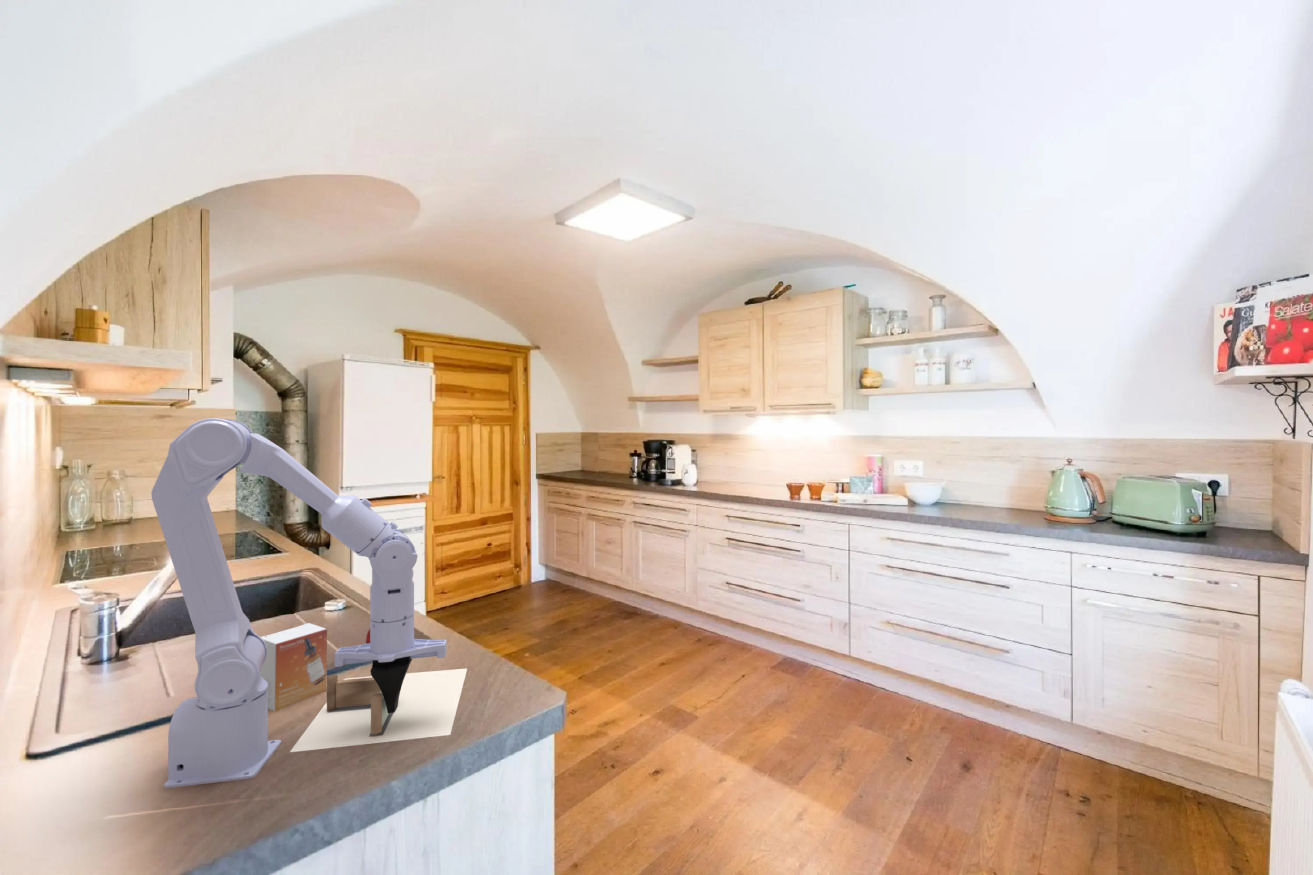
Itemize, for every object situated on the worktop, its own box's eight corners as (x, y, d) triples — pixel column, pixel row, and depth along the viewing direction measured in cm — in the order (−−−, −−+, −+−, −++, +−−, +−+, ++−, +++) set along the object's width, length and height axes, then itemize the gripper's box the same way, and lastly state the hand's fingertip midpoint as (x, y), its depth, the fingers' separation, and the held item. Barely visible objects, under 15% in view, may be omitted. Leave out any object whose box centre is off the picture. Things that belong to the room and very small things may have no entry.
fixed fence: (324, 712, 83) (325, 676, 82) (329, 707, 84) (329, 671, 84) (396, 706, 85) (397, 670, 85) (399, 700, 87) (399, 665, 86)
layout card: (289, 754, 72) (289, 751, 72) (344, 680, 94) (344, 678, 94) (450, 736, 77) (450, 734, 77) (467, 669, 98) (467, 667, 98)
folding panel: (385, 704, 84) (385, 672, 84) (395, 703, 85) (395, 671, 84) (369, 734, 76) (369, 698, 76) (380, 733, 76) (380, 697, 76)
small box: (274, 713, 83) (274, 644, 83) (255, 704, 86) (255, 636, 85) (328, 692, 90) (328, 627, 90) (309, 683, 93) (309, 621, 92)
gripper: (326, 629, 74) (327, 730, 74) (441, 621, 77) (441, 717, 77) (343, 612, 81) (344, 704, 81) (448, 605, 84) (448, 694, 84)
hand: (392, 709), depth 79 cm, fingers closed
